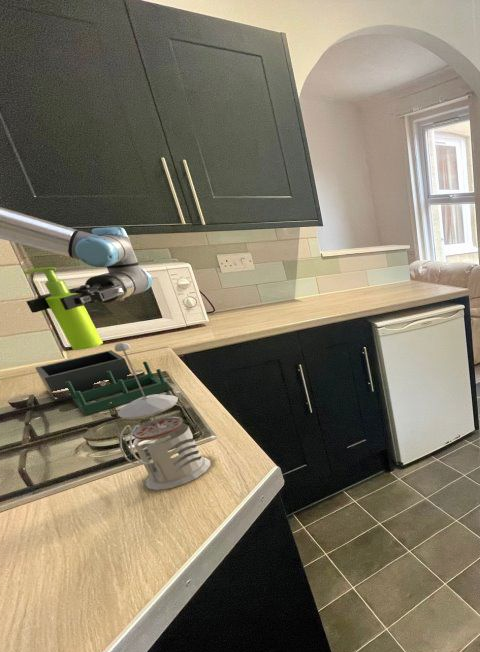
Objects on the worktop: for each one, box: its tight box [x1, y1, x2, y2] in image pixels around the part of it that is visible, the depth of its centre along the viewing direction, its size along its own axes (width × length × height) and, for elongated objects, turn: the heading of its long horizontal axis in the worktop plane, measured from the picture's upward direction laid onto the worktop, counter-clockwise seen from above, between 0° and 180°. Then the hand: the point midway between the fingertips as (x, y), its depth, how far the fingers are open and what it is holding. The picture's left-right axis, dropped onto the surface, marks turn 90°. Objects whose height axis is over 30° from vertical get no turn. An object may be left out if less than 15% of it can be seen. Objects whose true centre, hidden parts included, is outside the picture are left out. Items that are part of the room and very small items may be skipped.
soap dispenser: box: [23, 266, 104, 351], centre depth 104 cm, size 6×7×20 cm
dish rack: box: [65, 361, 171, 416], centre depth 109 cm, size 17×12×6 cm
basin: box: [34, 349, 132, 403], centre depth 116 cm, size 16×14×7 cm
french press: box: [114, 341, 211, 491], centre depth 70 cm, size 10×12×25 cm
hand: (47, 305), depth 99 cm, fingers closed on soap dispenser, 6 cm apart
